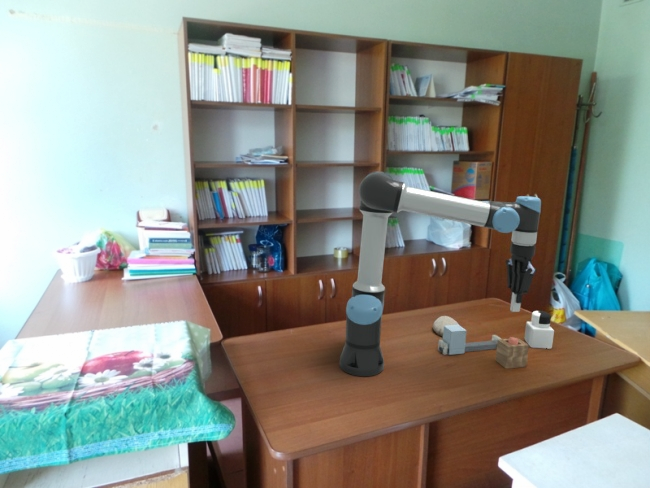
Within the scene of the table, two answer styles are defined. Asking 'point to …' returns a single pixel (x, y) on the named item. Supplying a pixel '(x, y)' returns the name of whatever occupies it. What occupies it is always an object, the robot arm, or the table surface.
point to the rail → (471, 345)
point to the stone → (443, 324)
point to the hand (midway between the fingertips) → (514, 310)
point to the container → (539, 330)
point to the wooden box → (512, 354)
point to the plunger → (513, 341)
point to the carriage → (455, 338)
